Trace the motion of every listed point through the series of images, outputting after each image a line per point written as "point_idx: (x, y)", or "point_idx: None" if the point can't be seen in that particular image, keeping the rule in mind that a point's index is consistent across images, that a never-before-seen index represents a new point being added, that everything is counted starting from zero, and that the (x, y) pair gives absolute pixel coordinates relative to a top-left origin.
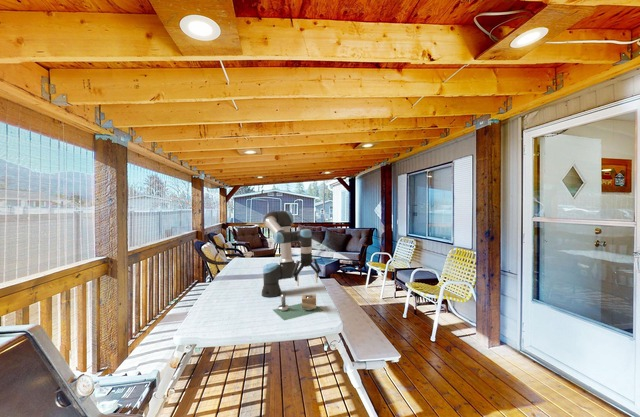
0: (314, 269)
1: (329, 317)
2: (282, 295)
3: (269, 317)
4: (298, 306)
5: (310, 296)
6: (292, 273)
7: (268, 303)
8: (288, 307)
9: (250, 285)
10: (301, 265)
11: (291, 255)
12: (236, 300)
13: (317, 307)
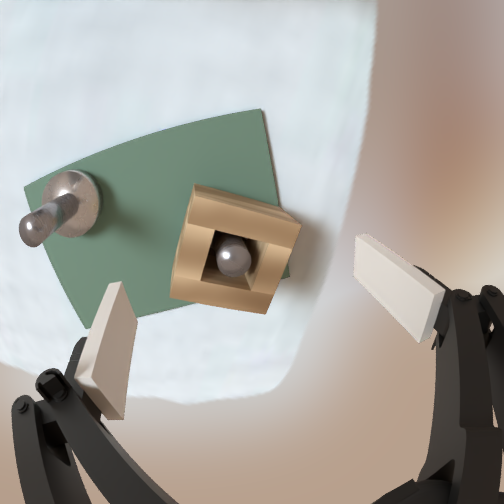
0: (437, 395)
1: (282, 336)
2: (27, 244)
3: (24, 268)
4: (165, 173)
5: (246, 258)
6: (22, 425)
7: (22, 71)
8: (94, 221)
9: None
10: None
11: None
12: None
13: None
